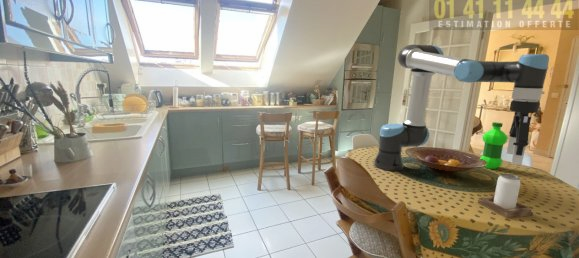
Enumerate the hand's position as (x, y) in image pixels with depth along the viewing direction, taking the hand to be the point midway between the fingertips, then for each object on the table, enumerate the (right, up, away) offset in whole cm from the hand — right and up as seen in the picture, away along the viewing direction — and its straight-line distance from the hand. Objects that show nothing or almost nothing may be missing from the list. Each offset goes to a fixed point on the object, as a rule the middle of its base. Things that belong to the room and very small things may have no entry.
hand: (513, 158), depth 93 cm
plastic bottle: (+29, -11, +48) cm, 58 cm away
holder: (0, -20, +4) cm, 20 cm away
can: (0, -19, +4) cm, 19 cm away
